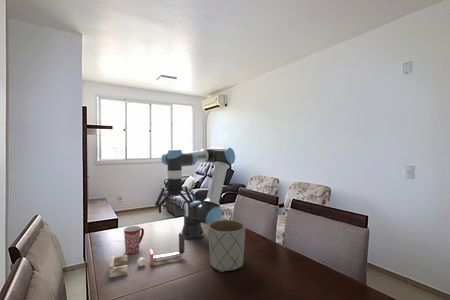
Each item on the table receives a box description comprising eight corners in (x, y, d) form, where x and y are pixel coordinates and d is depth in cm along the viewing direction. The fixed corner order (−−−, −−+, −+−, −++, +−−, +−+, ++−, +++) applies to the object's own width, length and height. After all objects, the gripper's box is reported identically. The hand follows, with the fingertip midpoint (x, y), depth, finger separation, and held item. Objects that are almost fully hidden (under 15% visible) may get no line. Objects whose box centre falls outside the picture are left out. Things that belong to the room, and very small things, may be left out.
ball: (145, 263, 119) (145, 255, 119) (145, 266, 115) (145, 258, 115) (137, 264, 117) (137, 256, 117) (137, 268, 114) (137, 260, 114)
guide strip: (178, 256, 126) (179, 251, 126) (180, 260, 122) (180, 254, 122) (152, 261, 121) (152, 255, 121) (153, 265, 117) (153, 259, 117)
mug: (130, 256, 126) (131, 232, 126) (120, 253, 131) (120, 229, 131) (148, 248, 137) (148, 225, 137) (138, 245, 142) (138, 223, 142)
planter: (218, 278, 106) (218, 234, 106) (202, 260, 122) (202, 222, 122) (252, 268, 114) (252, 228, 114) (233, 252, 131) (233, 217, 131)
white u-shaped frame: (183, 254, 128) (183, 231, 128) (185, 259, 122) (185, 235, 122) (149, 260, 121) (149, 236, 121) (150, 266, 115) (150, 240, 115)
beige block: (127, 262, 119) (127, 253, 119) (127, 274, 108) (127, 263, 108) (111, 265, 116) (111, 255, 116) (109, 277, 105) (109, 266, 105)
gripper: (194, 176, 133) (194, 212, 133) (149, 178, 123) (149, 218, 123) (198, 177, 126) (198, 216, 126) (151, 180, 116) (151, 222, 116)
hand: (174, 217), depth 125 cm, fingers open, 13 cm apart
